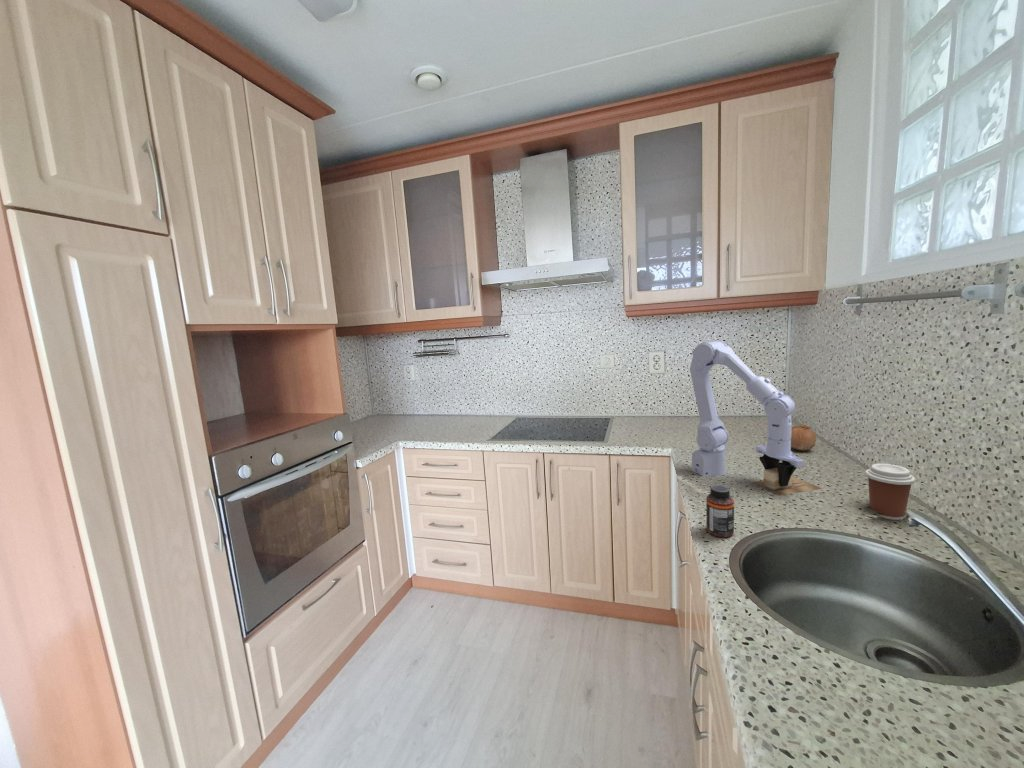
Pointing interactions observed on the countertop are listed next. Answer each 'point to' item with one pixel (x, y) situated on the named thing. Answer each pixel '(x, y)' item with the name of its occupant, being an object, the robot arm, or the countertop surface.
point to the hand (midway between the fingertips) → (777, 483)
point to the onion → (802, 438)
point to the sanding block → (774, 480)
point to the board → (796, 487)
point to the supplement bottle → (720, 512)
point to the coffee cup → (889, 490)
